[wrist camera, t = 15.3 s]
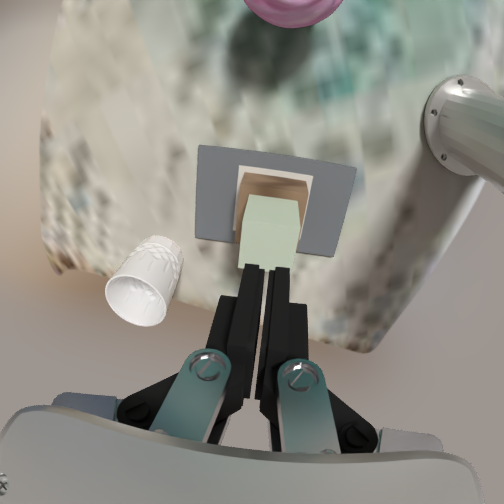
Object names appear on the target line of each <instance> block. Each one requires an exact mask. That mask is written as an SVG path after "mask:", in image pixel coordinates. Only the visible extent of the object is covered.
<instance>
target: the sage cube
mask: <svg viewBox="0 0 504 504" xmlns="http://www.w3.org/2000/svg"><path fill="white" fill-rule="evenodd" d="M300 229H301V227H300V218H299V208H298V201H295V200H288V199H281V198H274V197H266V196H259V195H251V194H249V197H248V201H247V205H246V209H245V213H244V217H243V221H242V231H241V241H240V252H239V262H238V268H243V269H244V266H245V263H247V264H257V265H260V267H259V269H265V271H266V272H269V270H275V267H286V268H290V275H291V272H292V267H293V262H294V258H295V253H296V248H297V243H298V238H299V233H300Z"/></svg>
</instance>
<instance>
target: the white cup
mask: <svg viewBox="0 0 504 504" xmlns="http://www.w3.org/2000/svg"><path fill="white" fill-rule="evenodd" d="M183 260H184V258H183V255H182V252H181V249H180V248H179V247H178V246H177V245H176V244H175V242H174V241H172V240H170V239H168V238H166V237H164V236H156V235H153V236H150V237H148V238H145V239H144V240H143V241H142V242H141V244H140V245H139V246H138V247H137V248H136V249H135V250H134V251H133V252H132V253H131V254H130V255H129V256H128V257H127V258H126V260H125V261H124V262H123V263H122V265H121V266H120V267H119V268H118V270H117V271H116V272H115V273H114V275H113V276H112V277H111V278H110V280H109V281H108V282H107V284H106V287H105V295H106V299H107V301H108V303H109V305H110V306H111V308H112V309H113V310H114V312H116V314H117V315H119V316H120V317H121V318H123V319H124V320H126V321H128V322H130V323H132V324H135V325H138V326H154V325H157V324H159V323H160V322H162V321H163V320H164V318H165V316H166V313H167V310H168V307H169V304H170V302H171V299H172V296H173V294H174V291H175V288H176V285H177V282H178V279H179V275H180V272H181V269H182V265H183Z"/></svg>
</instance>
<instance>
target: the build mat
mask: <svg viewBox="0 0 504 504" xmlns="http://www.w3.org/2000/svg"><path fill="white" fill-rule="evenodd" d="M356 170H357V169H356V168H354V167H349V166H344V165H339V164H334V163H329V162H323V161H318V160H312V159H306V158H300V157H294V156H287V155H281V154H274V153H267V152H259V151H252V150H243V149H235V148H226V147H216V146H205V145H199V148H198V166H197V188H196V216H195V237H196V238H204V239H211V240H218V241H225V242H232V243H235V233H236V222H237V212H238V202H239V193H240V184H241V181H242V178H243V175H244V173H245V172H249V173H256V174H264V175H271V176H278V177H284V178H291V179H297V180H304V181H306V183H307V188H308V192H309V195H308V200H307V205H306V210H305V215H304V220H303V224H302V229H301V234H300V238H299V243H298V248H297V251H296V252H303V253H310V254H317V255H324V256H330V257H334V254H335V250H336V247H337V243H338V240H339V236H340V232H341V229H342V225H343V222H344V218H345V214H346V210H347V206H348V203H349V199H350V195H351V191H352V187H353V183H354V179H355V174H356ZM239 244H240V243H239Z"/></svg>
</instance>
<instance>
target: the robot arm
mask: <svg viewBox="0 0 504 504" xmlns="http://www.w3.org/2000/svg"><path fill="white" fill-rule="evenodd" d="M431 111H433V112H432V113H431ZM424 128H425V135H426V139H427V143H428V145H429V147H430V150H431V152H432V153H433V155H434V156H435V158H436V159H437V160H438V161H439V162H440V163H441V164H442V165H443V166H444V167H446V168H447V169H448V170H450V171H452V172H453V173H456V174H459V175H464V176H471V175H476V174H477V175H479V176H480V177H481V178H483V179H484V180H486V181H487V182H489V183H490V184H491V185H493V186H494V187H495V188H497V189H498V190H499V191H501V192H502V193H503V194H504V96H501V95H497V94H495V93H494V91H493V90H492V89H491V88H490V87H489V86H488V85H487V84H486V83H484V82H483V81H481V80H480V79H477V78H474V77H471V76H465V75H457V76H453V77H449V78H447V79H445V80H444V81H442V82H441V83H440V84H439V85H438V86H436V88H435V89H434V91H433V92H432V93H431V95H430V97H429V100H428V102H427V105H426V109H425V116H424ZM441 155H442V156H441ZM259 267H260V265H257V264H247V263H245V266H244V270H243V275H242V279H241V284H240V288H239V293H238V297H232V296H224V295H221V296H220V299H219V302H218V306H217V309H216V313H215V316H214V320H213V323H212V327H211V330H210V334H209V337H208V341H207V345H206V348H205V349H200V350H197V351H195V352H193V353H192V354H190V355H189V356H188V358H187V359H186V361H185V362H184V364H183V366H182V368H181V370H180V372H179V373H176V374H174V375H172V376H170V377H168V378H166V379H164V380H162V381H160V382H158V383H156V384H154V385H151V386H150V387H147V388H145V389H143V390H141V391H139V392H136V393H134V394H132V395H130V396H128V397H127V398H125V399H117V398H116V396H103V395H92V394H81V393H71V392H65V393H62V394H60V395H58V396H57V397H56V398H55V399H54V400H53V403H52V405H36V406H30V407H25V408H23V409H20V410H19V411H17V412H16V413H15V414H14V415H13V416H12V417H11V418H10V419H9V420H8V422H7V423H6V425H5V426H4V428H3V429H2V431H1V433H0V504H485V501H484V495H483V491H482V487H481V484H480V480H479V477H478V475H477V472H476V470H475V469H474V467H473V466H472V465H471V463H469V462H468V461H467V460H465V459H463V458H461V457H458V456H456V455H453V454H449V453H445V452H443V446H442V443H441V441H440V440H439V439H438V438H437V437H436V436H434V435H431V434H425V433H417V432H409V431H403V430H396V429H390V428H384V427H383V428H382V429H375V428H374V427H373V426H372V425H371V424H370V423H369V422H367V421H366V420H365V419H364V418H362V417H361V416H360V415H359V414H357V413H356V412H355V411H354V410H353V409H351V408H350V407H349V406H348V405H346V404H345V403H344V402H343V401H341V400H340V399H339V398H338V397H337V396H336V395H334V394H333V393H332V392H331V391H330V390H328V389H327V386H326V382H325V377H324V374H323V372H322V370H321V368H319V366H318V365H317V364H315V363H314V362H312V361H309V359H308V318H307V305H306V304H298V303H289V290H290V268H286V267H275V270H269V278H268V287H267V296H266V305H265V314H264V322H263V331H262V340H261V348H260V356H259V365H258V374H257V383H256V391H255V399H257V400H260V412H261V413H262V414H263V415H264V416H265V417H266V418H267V419H268V434H269V447H270V451H261V450H251V449H243V448H235V447H227V446H221V443H222V440H223V437H224V435H225V432H226V429H227V427H228V424H229V421H230V418H231V415H232V414H233V413H235V412H237V411H238V410H240V409H241V406H243V400H244V398H250V392H251V385H252V378H253V370H254V363H255V355H256V348H257V340H258V332H259V325H260V315H261V305H262V294H263V284H264V273H265V269H259Z"/></svg>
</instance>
